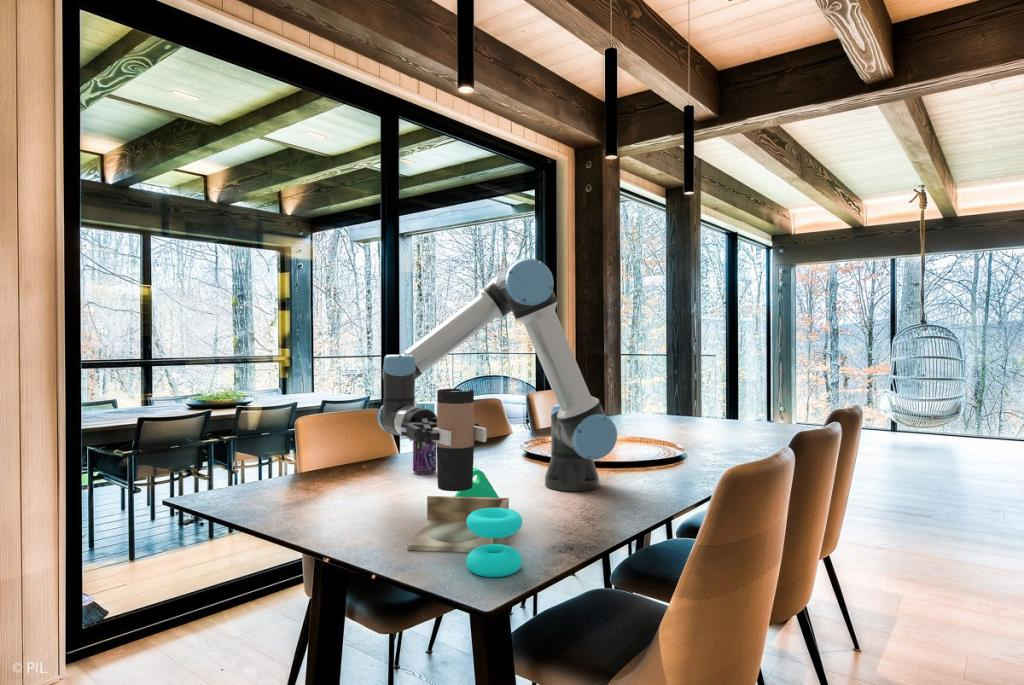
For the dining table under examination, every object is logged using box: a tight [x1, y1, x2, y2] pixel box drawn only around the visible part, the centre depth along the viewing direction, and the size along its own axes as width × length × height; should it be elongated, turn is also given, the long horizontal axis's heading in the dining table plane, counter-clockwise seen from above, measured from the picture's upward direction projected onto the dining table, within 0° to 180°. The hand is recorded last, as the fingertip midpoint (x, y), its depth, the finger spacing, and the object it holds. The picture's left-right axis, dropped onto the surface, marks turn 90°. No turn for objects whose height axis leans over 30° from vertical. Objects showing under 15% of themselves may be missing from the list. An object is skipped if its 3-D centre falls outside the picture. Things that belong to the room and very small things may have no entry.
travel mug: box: [436, 388, 475, 492], centre depth 127 cm, size 8×8×20 cm
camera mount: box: [451, 467, 500, 498], centre depth 149 cm, size 12×8×10 cm, turn 112°
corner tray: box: [406, 495, 510, 553], centre depth 128 cm, size 18×18×6 cm
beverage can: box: [412, 440, 437, 475], centre depth 190 cm, size 7×7×12 cm
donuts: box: [465, 508, 523, 578], centre depth 110 cm, size 10×10×10 cm
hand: (467, 436), depth 123 cm, fingers closed on travel mug, 7 cm apart
